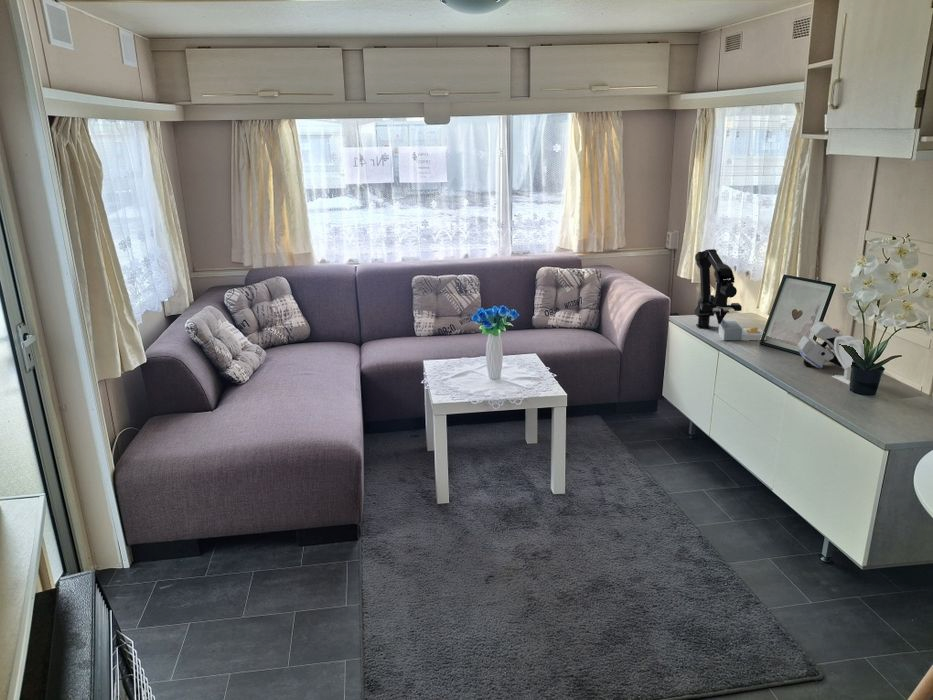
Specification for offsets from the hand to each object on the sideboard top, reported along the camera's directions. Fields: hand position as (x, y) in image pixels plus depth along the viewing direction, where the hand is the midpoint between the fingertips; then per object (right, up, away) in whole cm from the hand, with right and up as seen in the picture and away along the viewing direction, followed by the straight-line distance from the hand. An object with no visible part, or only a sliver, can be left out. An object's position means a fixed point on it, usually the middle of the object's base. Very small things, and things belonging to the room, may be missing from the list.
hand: (719, 323), depth 352 cm
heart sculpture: (+31, -26, -60) cm, 72 cm away
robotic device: (+29, -20, -43) cm, 56 cm away
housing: (+11, -7, +1) cm, 13 cm away
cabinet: (+5, -6, +1) cm, 8 cm away
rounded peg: (+17, -7, 0) cm, 18 cm away
